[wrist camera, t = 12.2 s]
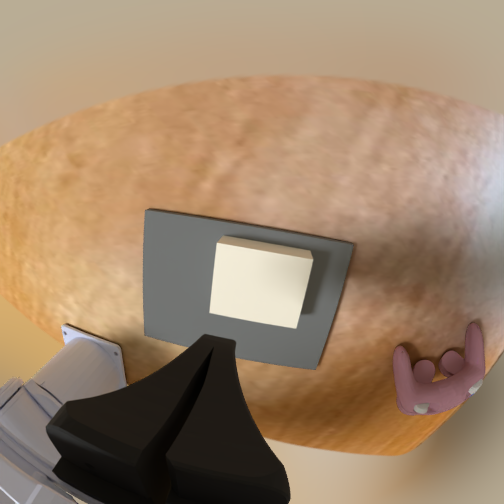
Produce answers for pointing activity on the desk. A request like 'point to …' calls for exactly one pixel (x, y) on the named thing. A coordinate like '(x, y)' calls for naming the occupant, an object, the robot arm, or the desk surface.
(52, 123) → the desk surface
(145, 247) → the mat
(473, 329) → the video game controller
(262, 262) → the block
